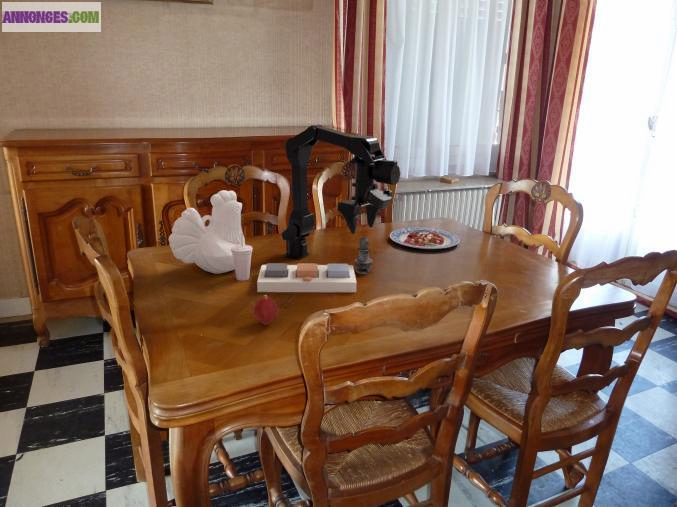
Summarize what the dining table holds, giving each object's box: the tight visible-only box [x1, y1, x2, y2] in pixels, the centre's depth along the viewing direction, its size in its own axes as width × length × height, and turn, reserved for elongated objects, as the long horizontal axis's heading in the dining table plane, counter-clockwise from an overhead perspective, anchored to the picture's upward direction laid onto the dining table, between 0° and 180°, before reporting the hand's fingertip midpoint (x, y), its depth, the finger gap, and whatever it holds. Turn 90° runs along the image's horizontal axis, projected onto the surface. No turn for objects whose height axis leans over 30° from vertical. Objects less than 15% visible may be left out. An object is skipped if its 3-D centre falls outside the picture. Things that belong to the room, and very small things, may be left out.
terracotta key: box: [296, 262, 319, 278], centre depth 154 cm, size 6×6×3 cm
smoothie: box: [231, 232, 254, 282], centre depth 155 cm, size 6×6×14 cm
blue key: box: [326, 263, 349, 278], centre depth 154 cm, size 6×6×3 cm
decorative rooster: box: [168, 189, 246, 275], centre depth 159 cm, size 25×16×25 cm, turn 125°
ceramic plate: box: [389, 226, 460, 250], centre depth 195 cm, size 26×26×3 cm
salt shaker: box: [354, 234, 374, 275], centre depth 163 cm, size 6×6×12 cm
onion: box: [253, 294, 279, 326], centre depth 128 cm, size 6×6×8 cm
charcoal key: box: [265, 262, 288, 278], centre depth 154 cm, size 6×6×3 cm
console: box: [256, 264, 357, 293], centre depth 155 cm, size 28×14×4 cm, turn 93°
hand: (362, 230), depth 160 cm, fingers open, 9 cm apart
